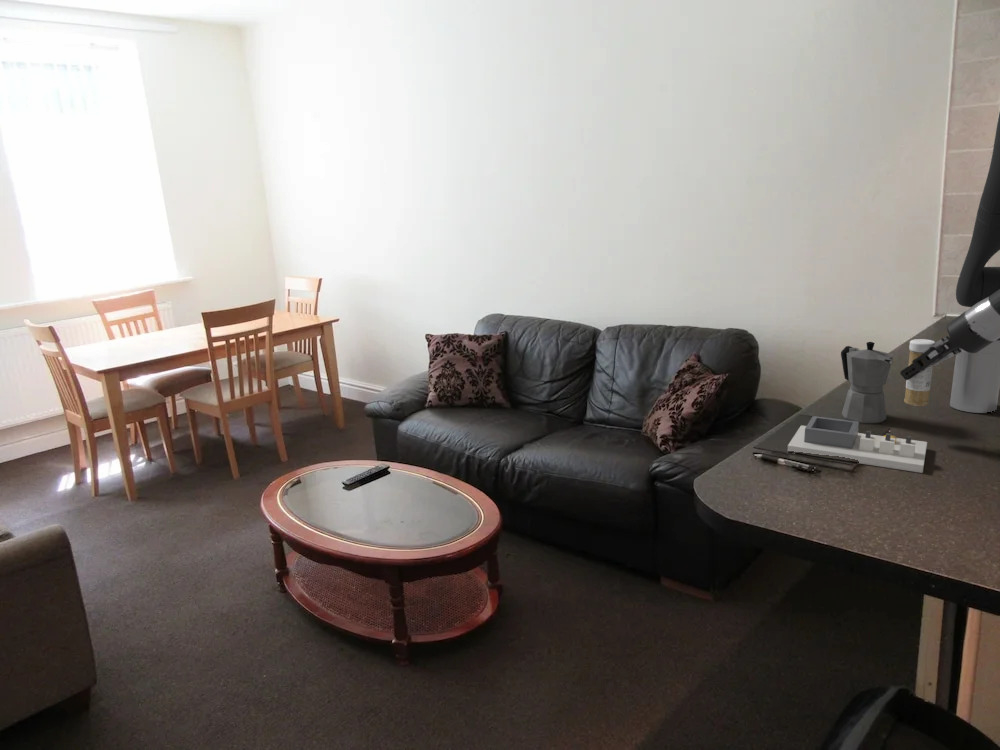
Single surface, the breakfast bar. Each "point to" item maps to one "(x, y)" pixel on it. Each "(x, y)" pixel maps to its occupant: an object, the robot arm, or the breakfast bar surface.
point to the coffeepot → (865, 383)
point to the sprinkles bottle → (919, 375)
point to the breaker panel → (858, 444)
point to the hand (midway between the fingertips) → (909, 373)
